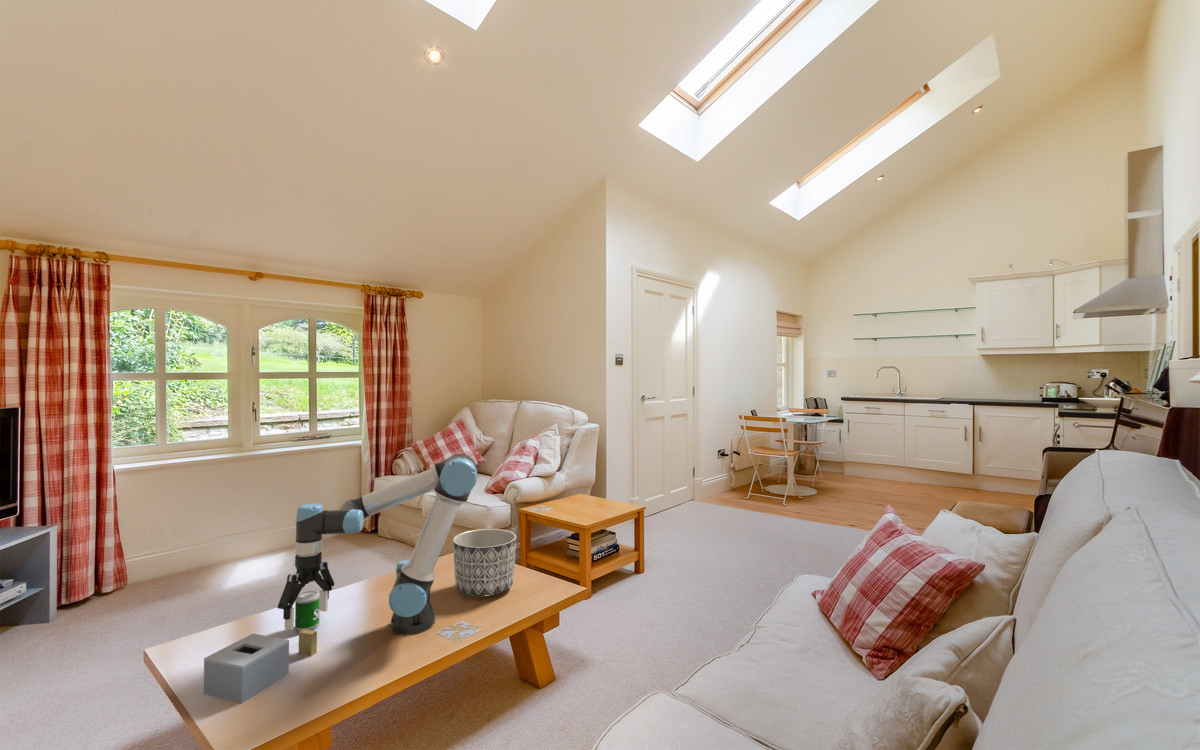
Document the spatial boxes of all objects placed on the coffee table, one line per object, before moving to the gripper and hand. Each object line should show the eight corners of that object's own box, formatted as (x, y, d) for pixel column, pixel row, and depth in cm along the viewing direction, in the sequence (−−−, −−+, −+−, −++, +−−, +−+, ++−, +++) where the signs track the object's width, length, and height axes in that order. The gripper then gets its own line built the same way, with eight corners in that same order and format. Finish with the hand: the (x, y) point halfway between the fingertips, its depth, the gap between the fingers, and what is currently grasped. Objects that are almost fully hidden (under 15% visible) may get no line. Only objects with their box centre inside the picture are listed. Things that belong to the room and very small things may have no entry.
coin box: (288, 673, 159) (289, 640, 159) (242, 703, 144) (242, 666, 144) (252, 666, 163) (252, 633, 163) (203, 694, 148) (204, 658, 148)
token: (316, 652, 171) (316, 631, 171) (311, 656, 169) (311, 634, 169) (304, 650, 172) (304, 629, 172) (298, 653, 170) (298, 632, 170)
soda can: (308, 634, 183) (309, 599, 183) (289, 632, 184) (290, 597, 184) (324, 624, 190) (324, 590, 190) (306, 622, 192) (306, 589, 192)
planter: (467, 576, 237) (467, 527, 237) (523, 579, 234) (523, 530, 234) (441, 600, 211) (442, 545, 211) (504, 605, 208) (505, 549, 208)
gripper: (329, 540, 184) (327, 602, 183) (265, 564, 160) (263, 635, 159) (346, 543, 181) (345, 605, 181) (284, 567, 157) (282, 639, 157)
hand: (306, 619), depth 170 cm, fingers open, 13 cm apart
